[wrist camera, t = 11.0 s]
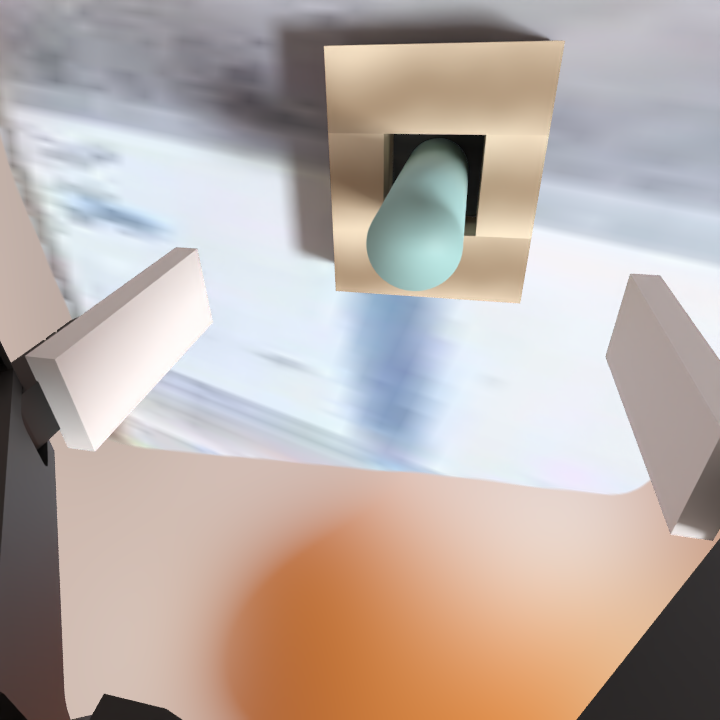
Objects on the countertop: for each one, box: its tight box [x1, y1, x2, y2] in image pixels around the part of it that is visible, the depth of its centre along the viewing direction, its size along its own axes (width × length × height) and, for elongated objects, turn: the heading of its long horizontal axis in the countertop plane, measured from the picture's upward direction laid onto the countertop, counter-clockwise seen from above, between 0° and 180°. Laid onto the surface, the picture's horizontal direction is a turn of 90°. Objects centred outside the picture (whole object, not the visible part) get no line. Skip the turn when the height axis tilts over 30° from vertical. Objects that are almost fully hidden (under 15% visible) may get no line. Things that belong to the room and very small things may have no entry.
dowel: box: [366, 138, 469, 291], centre depth 26 cm, size 4×4×14 cm
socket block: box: [324, 41, 565, 303], centre depth 30 cm, size 14×12×4 cm
